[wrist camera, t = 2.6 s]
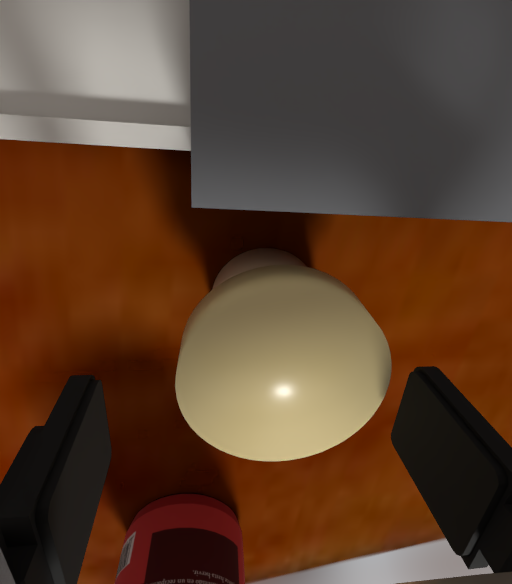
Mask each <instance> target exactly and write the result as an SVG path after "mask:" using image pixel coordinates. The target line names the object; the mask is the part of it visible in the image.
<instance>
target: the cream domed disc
mask: <svg viewBox="0 0 512 584" xmlns="http://www.w3.org/2000/svg"><path fill="white" fill-rule="evenodd" d="M390 376H391V355H390V350H389V346H388V343H387V340H386V338H385V336H384V334H383V332H382V330H381V329H380V327H379V326H378V325H377V323H376V322H375V321H374V319H373V318H372V317H371V315H370V314H369V313H368V311H367V310H366V308H365V307H364V306H363V304H362V303H361V302H360V300H359V299H358V298H357V296H356V295H355V294H354V293H353V292H352V291H351V290H350V289H349V288H348V287H347V286H346V285H345V284H343V283H342V282H341V281H339V280H338V279H336V278H334V277H332V276H331V275H329V274H327V273H324V272H322V271H319V270H316V269H313V268H309V267H304V266H298V265H270V266H264V267H258V268H255V269H251V270H248V271H245V272H242V273H240V274H237V275H235V276H233V277H231V278H229V279H228V280H226V281H224V282H222V283H221V284H219V285H218V286H217V287H215V288H214V289H213V290H211V291H210V292H209V293H208V294H207V295H206V296H205V297H204V298H203V299H202V300H201V301H200V303H199V304H198V305H197V306H196V308H195V309H194V310H193V312H192V314H191V316H190V317H189V319H188V321H187V324H186V326H185V329H184V332H183V337H182V341H181V347H180V353H179V359H178V365H177V371H176V381H175V389H176V397H177V401H178V404H179V408H180V410H181V412H182V414H183V416H184V418H185V420H186V421H187V423H188V424H189V425H190V427H191V428H192V429H193V430H194V431H195V432H196V433H197V434H198V435H199V436H200V437H201V438H202V439H203V440H205V441H206V442H207V443H209V444H210V445H212V446H214V447H215V448H217V449H219V450H221V451H224V452H226V453H228V454H231V455H234V456H237V457H241V458H245V459H250V460H258V461H286V460H293V459H299V458H303V457H307V456H311V455H314V454H317V453H320V452H322V451H325V450H327V449H329V448H331V447H334V446H336V445H337V444H339V443H341V442H342V441H344V440H346V439H347V438H349V437H350V436H351V435H353V434H354V433H356V432H357V431H358V430H359V429H360V428H361V427H362V426H363V425H365V423H366V422H367V421H368V420H369V419H370V418H371V417H372V416H373V414H374V413H375V411H376V410H377V409H378V407H379V406H380V404H381V402H382V400H383V398H384V396H385V394H386V391H387V388H388V386H389V381H390Z"/></svg>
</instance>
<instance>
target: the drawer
mask: <svg viewBox="0 0 512 584" xmlns="http://www.w3.org/2000/svg"><path fill="white" fill-rule="evenodd" d="M0 139H8V140H24V141H40V142H56V143H72V144H88V145H105V146H121V147H137V148H153V149H169V150H185V151H191V104H190V7H189V0H0Z"/></svg>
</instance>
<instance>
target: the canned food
mask: <svg viewBox="0 0 512 584" xmlns="http://www.w3.org/2000/svg"><path fill="white" fill-rule="evenodd" d="M115 584H245V575H244V558H243V541H242V532H241V529H240V526H239V523H238V520H237V518H236V516H235V514H234V512H233V511H232V510H231V509H230V508H229V507H228V506H227V505H225V504H224V503H223V502H221V501H218V500H216V499H214V498H212V497H208V496H205V495H199V494H176V495H170V496H167V497H163V498H160V499H158V500H156V501H153V502H151V503H150V504H148V505H147V506H145V507H144V508H142V509H141V510H140V511H139V512H138V513H137V515H136V516H135V518H134V520H133V521H132V523H131V525H130V527H129V529H128V531H127V533H126V536H125V540H124V545H123V549H122V553H121V558H120V562H119V567H118V571H117V575H116V580H115Z"/></svg>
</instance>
